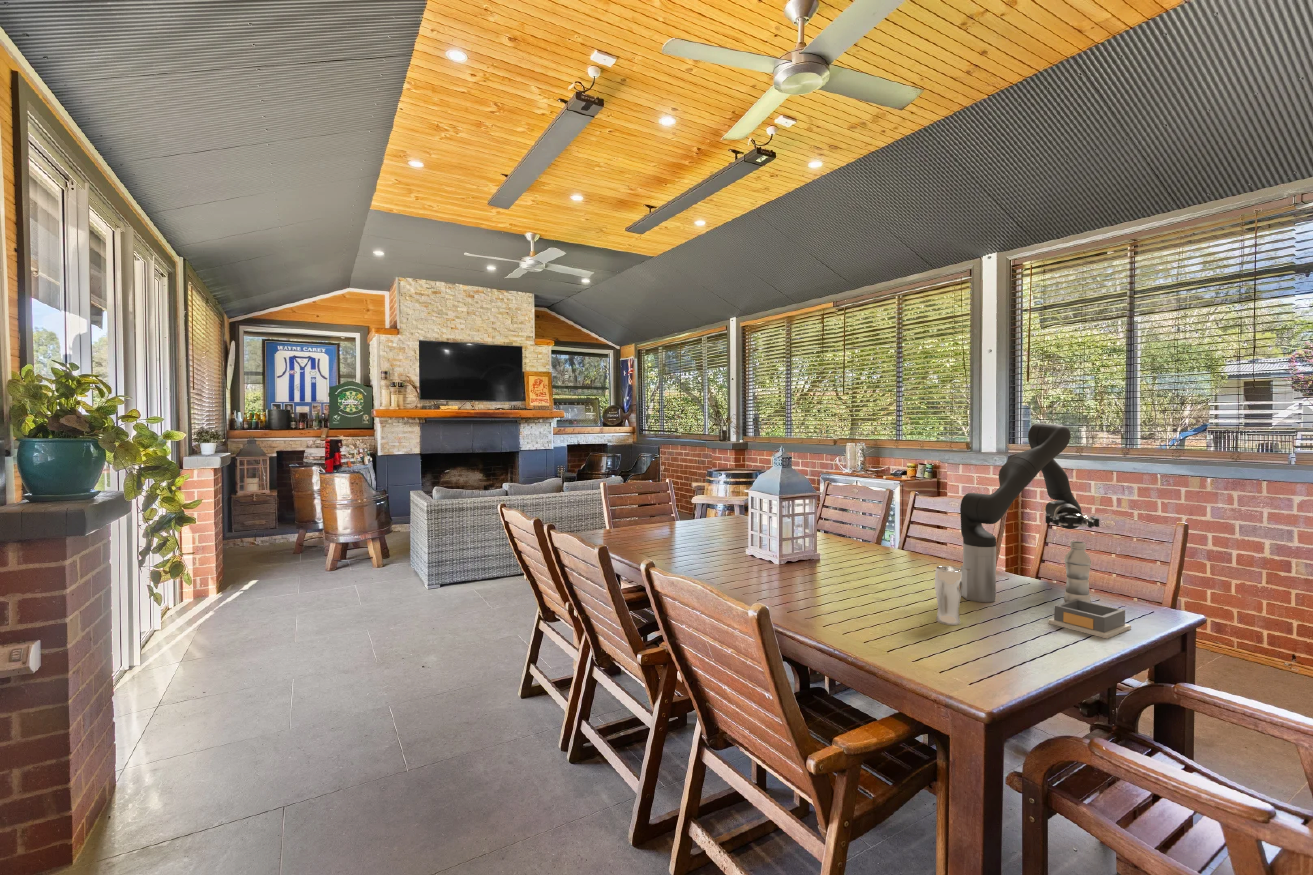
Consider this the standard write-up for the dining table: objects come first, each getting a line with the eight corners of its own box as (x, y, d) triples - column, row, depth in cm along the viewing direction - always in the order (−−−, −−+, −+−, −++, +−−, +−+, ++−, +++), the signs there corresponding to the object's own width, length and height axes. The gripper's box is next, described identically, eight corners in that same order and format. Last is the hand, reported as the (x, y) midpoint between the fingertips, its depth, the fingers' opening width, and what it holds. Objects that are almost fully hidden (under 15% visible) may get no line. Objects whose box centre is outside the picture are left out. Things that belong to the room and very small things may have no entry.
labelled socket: (1107, 638, 154) (1107, 619, 154) (1048, 623, 166) (1048, 605, 166) (1130, 628, 162) (1131, 610, 162) (1073, 614, 174) (1073, 597, 173)
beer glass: (961, 619, 169) (962, 566, 169) (962, 627, 163) (963, 572, 163) (934, 616, 172) (934, 564, 172) (934, 623, 166) (934, 569, 165)
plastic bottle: (1095, 612, 175) (1096, 544, 175) (1069, 611, 177) (1070, 544, 176) (1084, 606, 182) (1085, 540, 181) (1059, 604, 183) (1060, 539, 182)
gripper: (1043, 503, 205) (1047, 509, 191) (1094, 506, 199) (1102, 513, 184) (1042, 525, 206) (1046, 533, 192) (1093, 528, 199) (1101, 537, 185)
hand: (1073, 523), depth 188 cm, fingers open, 8 cm apart
